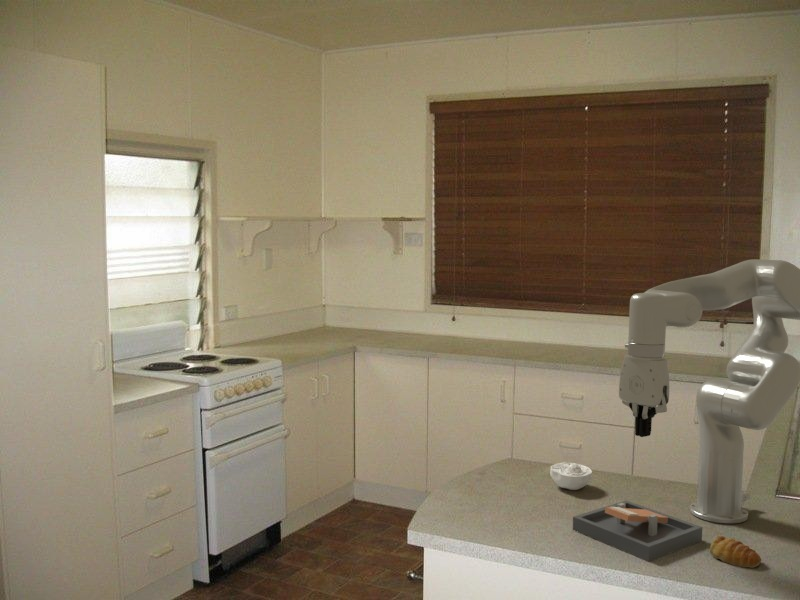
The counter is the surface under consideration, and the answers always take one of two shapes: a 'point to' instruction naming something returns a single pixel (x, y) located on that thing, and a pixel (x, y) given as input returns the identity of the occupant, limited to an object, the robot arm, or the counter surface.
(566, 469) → the cell model
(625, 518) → the rocker
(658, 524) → the breaker panel
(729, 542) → the pastry
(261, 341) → the counter surface
